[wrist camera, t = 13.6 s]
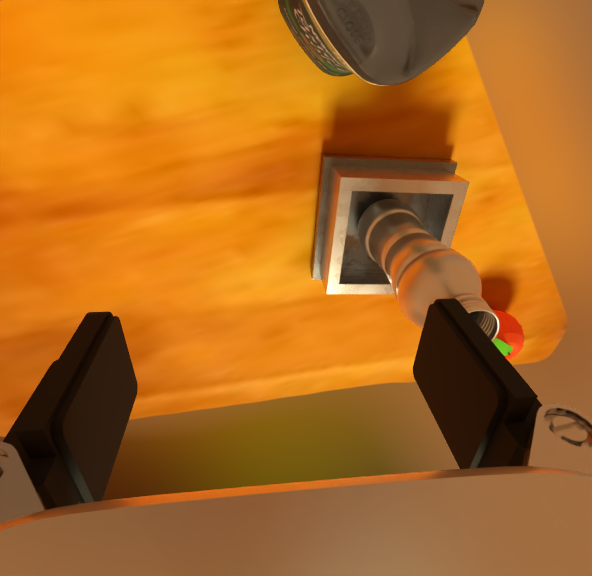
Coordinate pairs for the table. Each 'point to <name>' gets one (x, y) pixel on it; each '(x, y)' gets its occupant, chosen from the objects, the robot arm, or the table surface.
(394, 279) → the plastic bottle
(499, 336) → the clementine
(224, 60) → the table surface
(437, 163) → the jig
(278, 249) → the table surface
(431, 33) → the coffee jar
